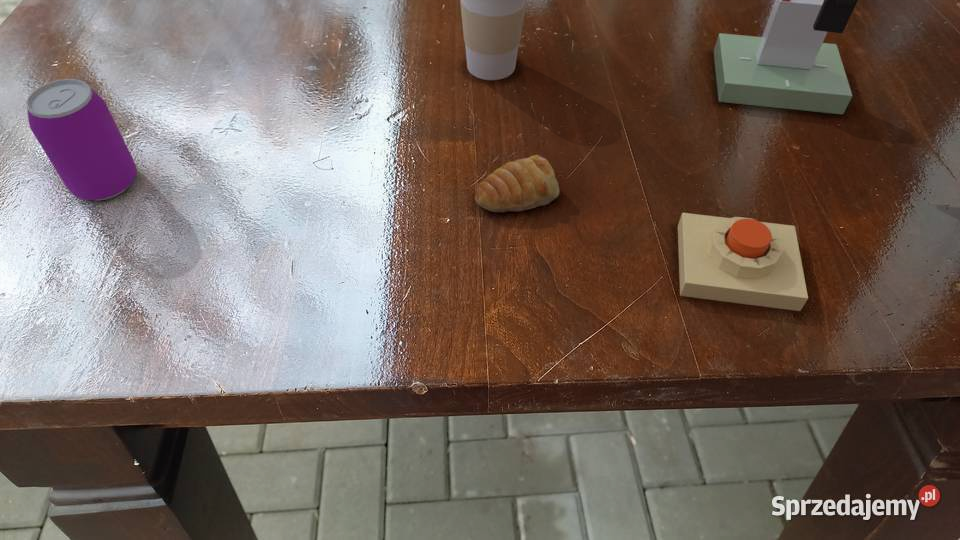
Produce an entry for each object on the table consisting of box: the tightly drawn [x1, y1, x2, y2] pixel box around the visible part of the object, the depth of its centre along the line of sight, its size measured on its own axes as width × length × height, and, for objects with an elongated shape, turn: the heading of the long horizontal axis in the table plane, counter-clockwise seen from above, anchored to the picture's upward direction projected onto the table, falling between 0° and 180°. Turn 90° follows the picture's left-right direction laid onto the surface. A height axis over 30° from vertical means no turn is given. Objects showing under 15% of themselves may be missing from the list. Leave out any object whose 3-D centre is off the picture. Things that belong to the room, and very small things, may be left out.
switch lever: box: [756, 0, 828, 70], centre depth 89 cm, size 7×2×9 cm, turn 81°
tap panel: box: [713, 32, 853, 115], centre depth 94 cm, size 16×12×3 cm
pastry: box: [474, 154, 560, 213], centre depth 79 cm, size 9×7×4 cm
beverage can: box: [25, 78, 138, 202], centre depth 76 cm, size 8×8×12 cm
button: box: [727, 218, 772, 259], centre depth 70 cm, size 4×4×2 cm
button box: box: [677, 212, 809, 312], centre depth 72 cm, size 12×10×4 cm
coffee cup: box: [459, 0, 528, 81], centre depth 91 cm, size 9×9×15 cm
